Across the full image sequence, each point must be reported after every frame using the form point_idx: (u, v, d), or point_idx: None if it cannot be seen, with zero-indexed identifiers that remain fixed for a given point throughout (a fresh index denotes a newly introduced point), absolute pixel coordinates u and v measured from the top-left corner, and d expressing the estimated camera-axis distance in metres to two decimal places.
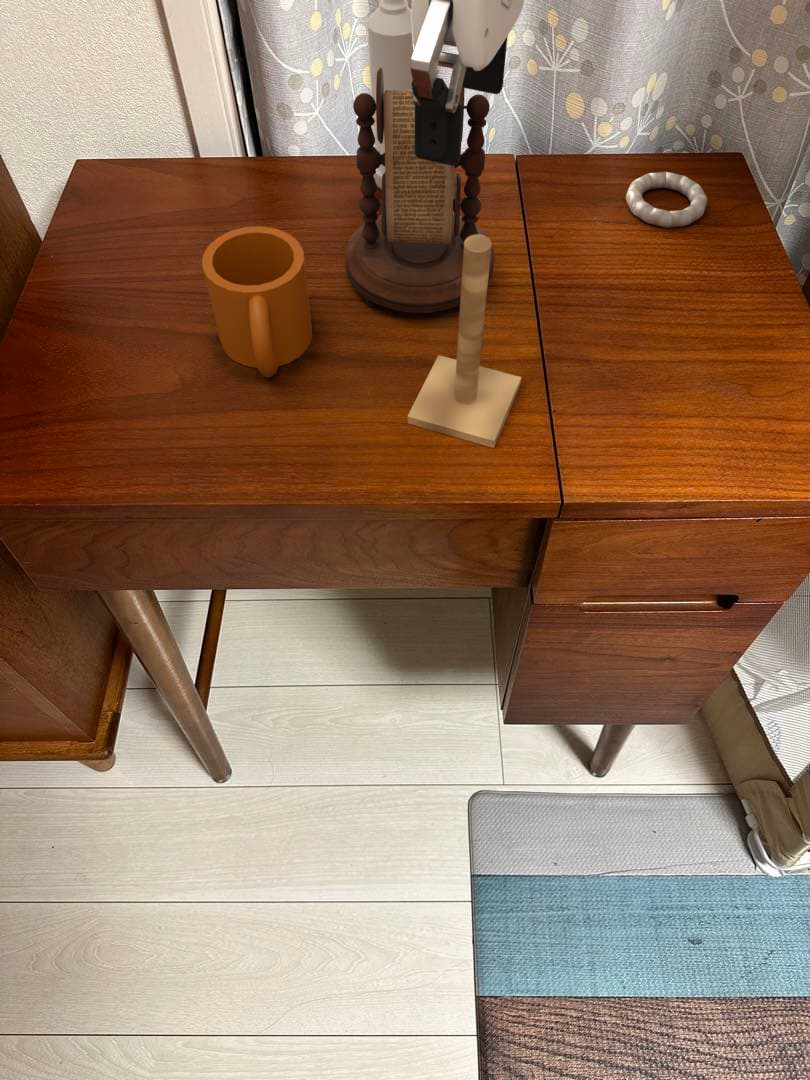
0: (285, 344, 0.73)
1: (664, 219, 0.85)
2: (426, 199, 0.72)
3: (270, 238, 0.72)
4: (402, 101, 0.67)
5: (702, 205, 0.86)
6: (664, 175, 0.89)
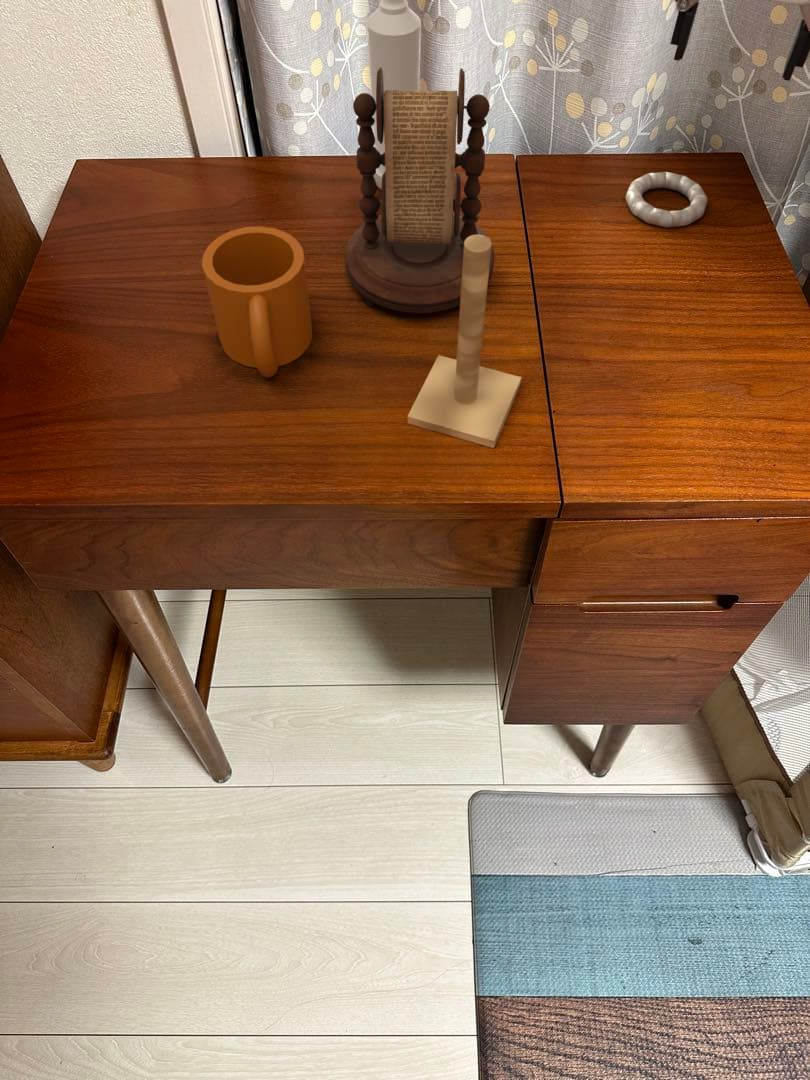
0: (285, 344, 0.73)
1: (664, 219, 0.85)
2: (426, 199, 0.72)
3: (270, 238, 0.72)
4: (402, 101, 0.67)
5: (702, 205, 0.86)
6: (664, 175, 0.89)
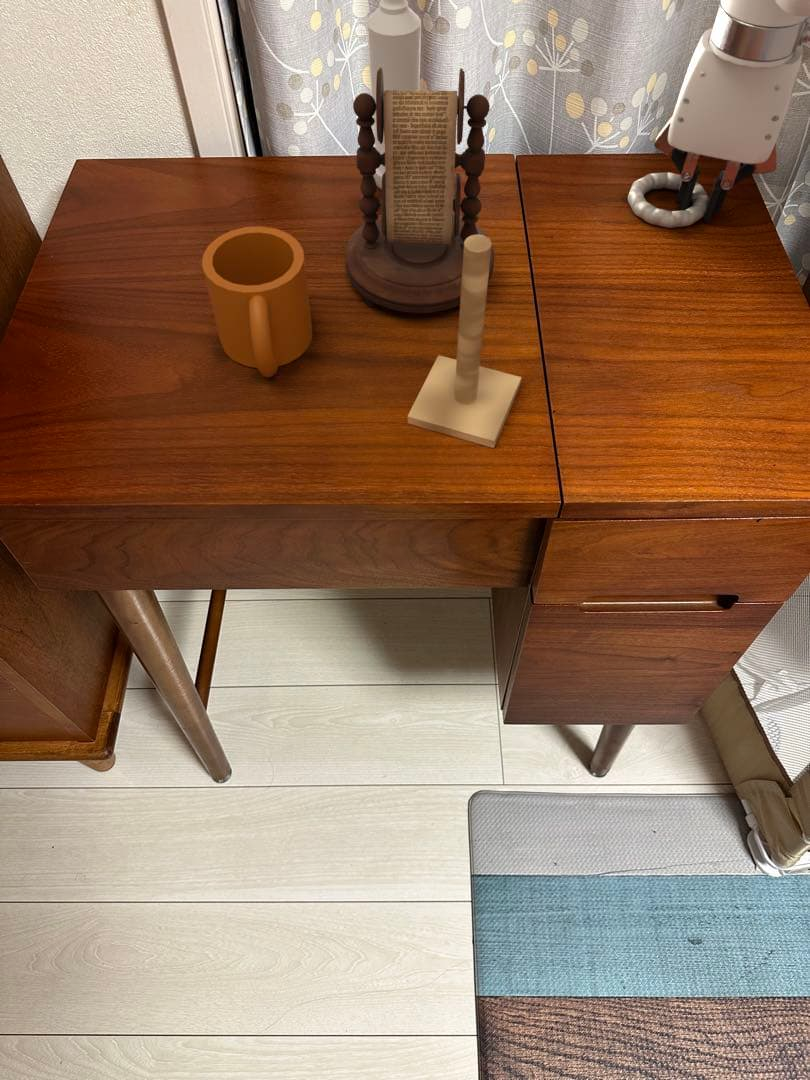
0: (285, 344, 0.73)
1: (666, 219, 0.85)
2: (426, 199, 0.72)
3: (270, 238, 0.72)
4: (402, 101, 0.67)
5: (704, 205, 0.86)
6: (666, 175, 0.89)
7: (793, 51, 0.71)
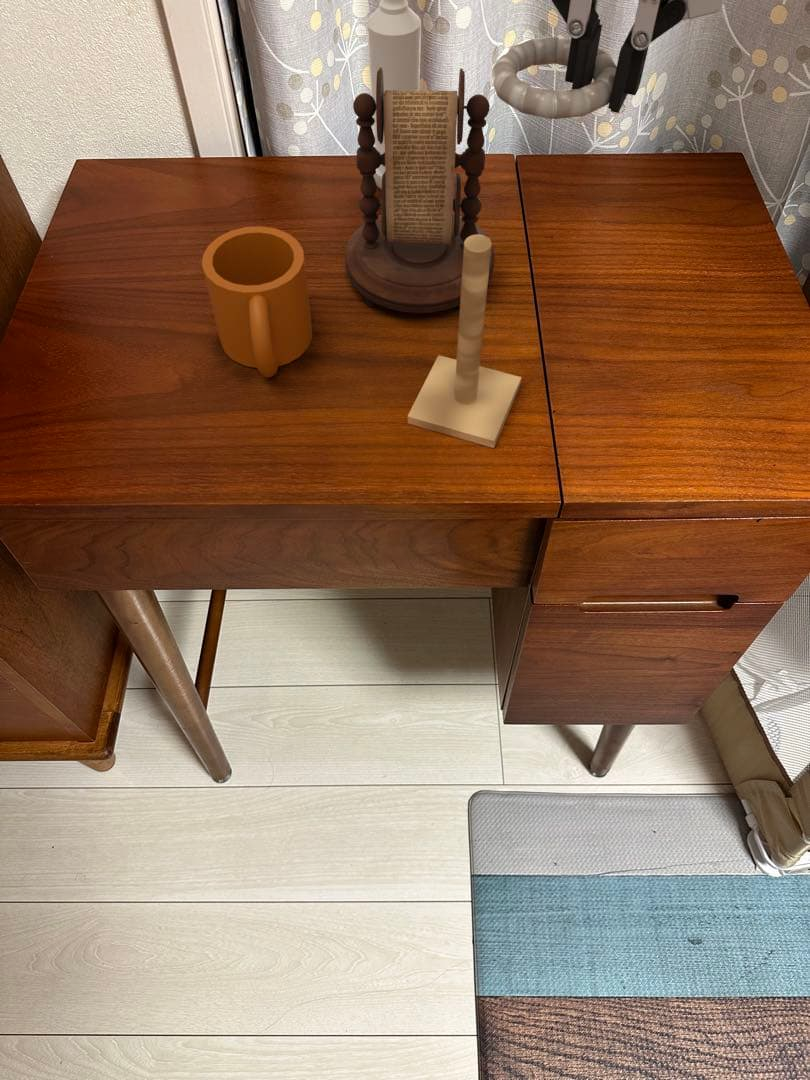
0: (285, 344, 0.73)
1: (545, 103, 0.52)
2: (426, 199, 0.72)
3: (270, 238, 0.72)
4: (402, 101, 0.67)
5: (610, 83, 0.53)
6: (555, 40, 0.55)
7: None
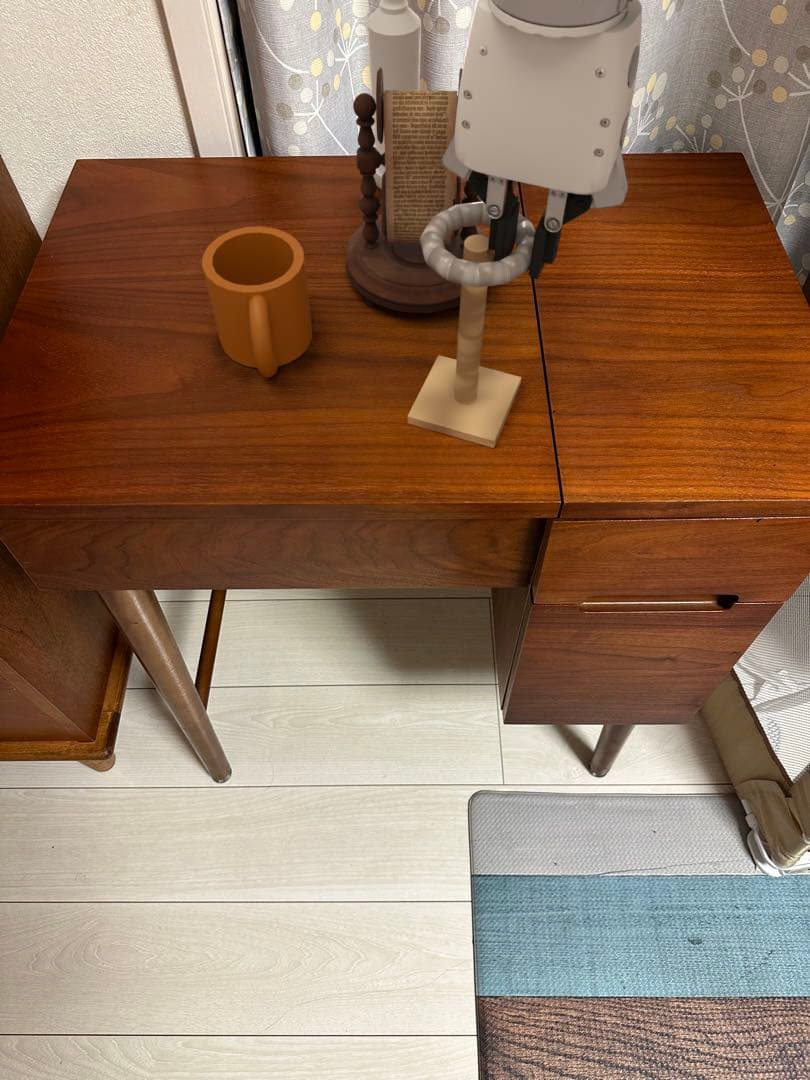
0: (285, 344, 0.73)
1: (469, 276, 0.56)
2: (426, 199, 0.72)
3: (270, 238, 0.72)
4: (402, 101, 0.67)
5: (529, 253, 0.57)
6: (480, 206, 0.60)
7: (619, 10, 0.42)
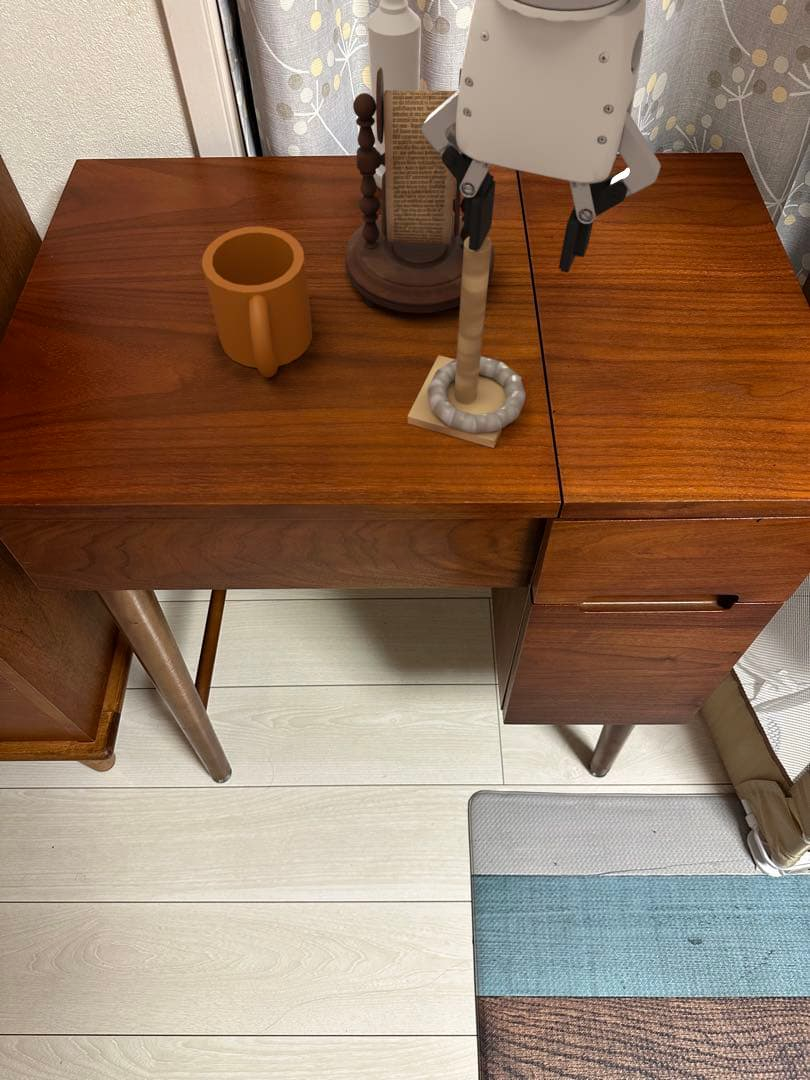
0: (285, 344, 0.73)
1: (467, 426, 0.68)
2: (426, 199, 0.72)
3: (270, 238, 0.72)
4: (402, 101, 0.67)
5: (516, 406, 0.69)
6: None
7: None
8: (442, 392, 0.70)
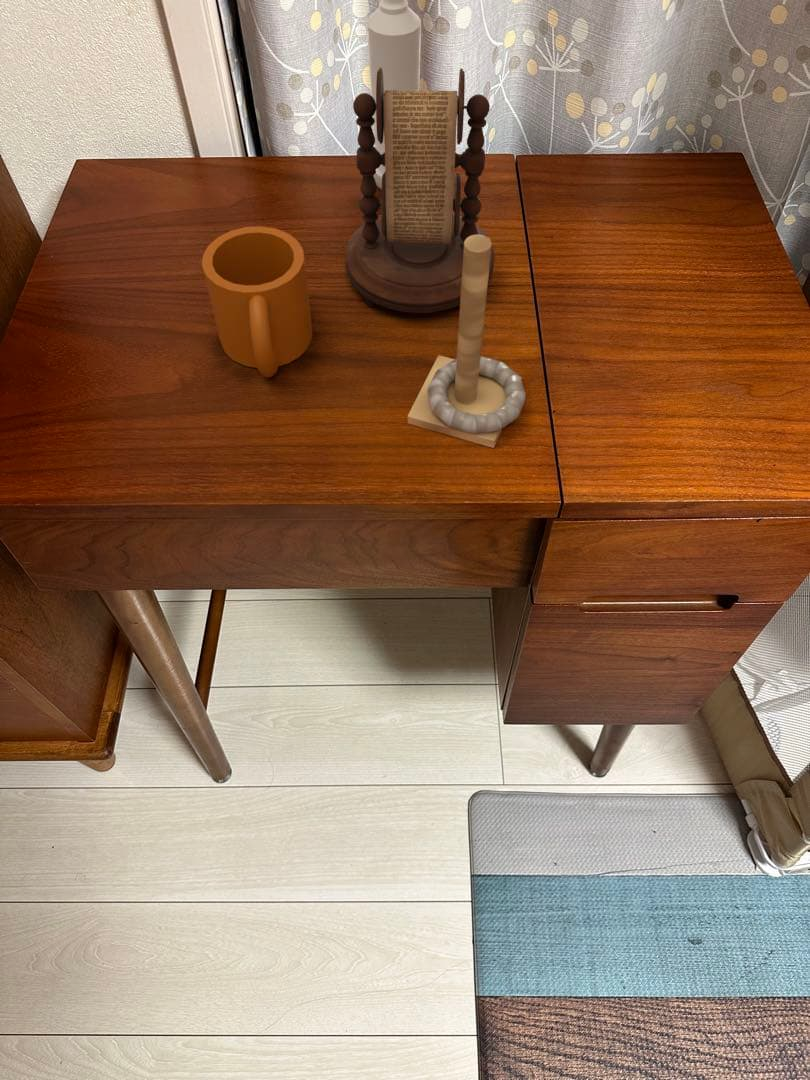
0: (285, 344, 0.73)
1: (467, 426, 0.68)
2: (426, 199, 0.72)
3: (270, 238, 0.72)
4: (402, 101, 0.67)
5: (516, 406, 0.69)
6: None
7: None
8: (442, 392, 0.70)
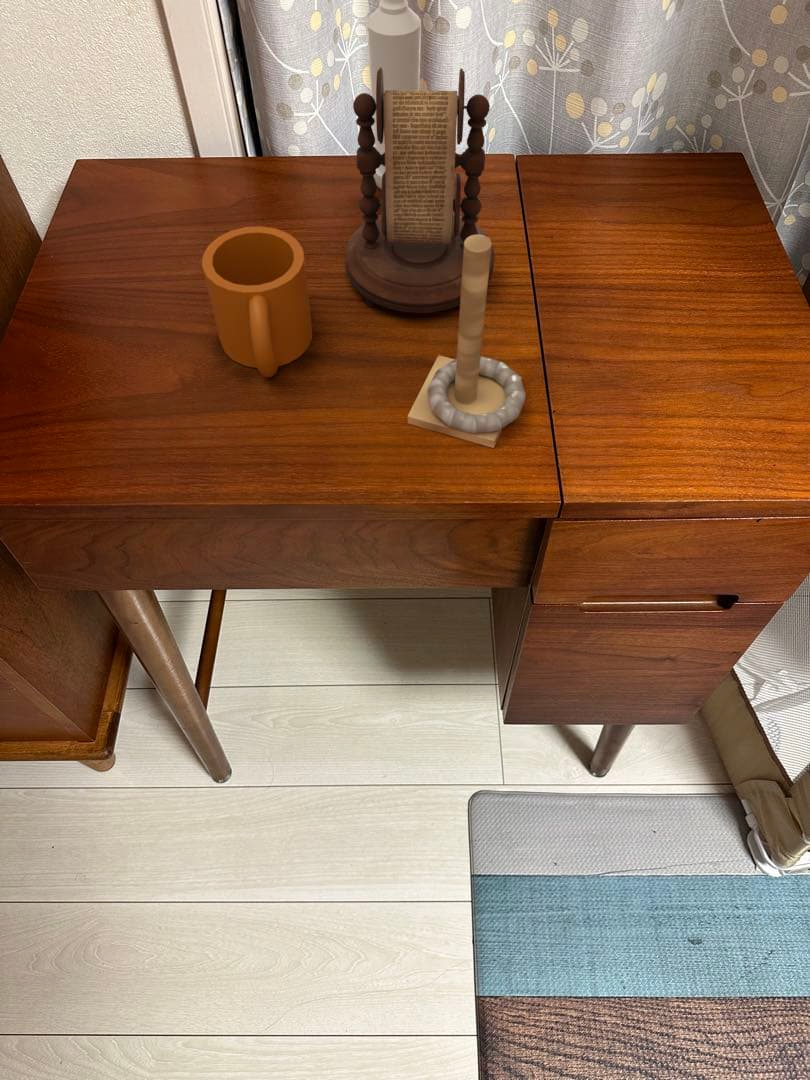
0: (285, 344, 0.73)
1: (467, 426, 0.68)
2: (426, 199, 0.72)
3: (270, 238, 0.72)
4: (402, 101, 0.67)
5: (516, 406, 0.69)
6: None
7: None
8: (442, 392, 0.70)
